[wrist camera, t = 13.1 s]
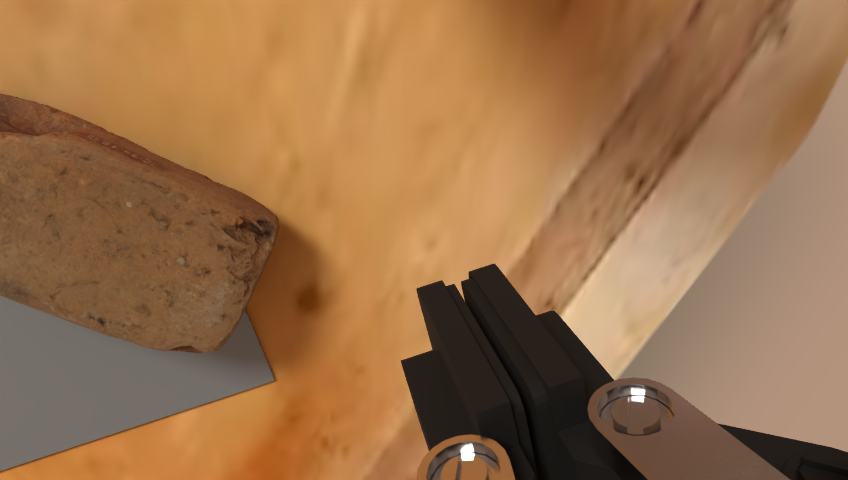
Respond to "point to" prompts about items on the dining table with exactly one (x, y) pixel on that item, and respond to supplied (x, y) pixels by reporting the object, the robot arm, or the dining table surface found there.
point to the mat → (103, 381)
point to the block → (122, 234)
